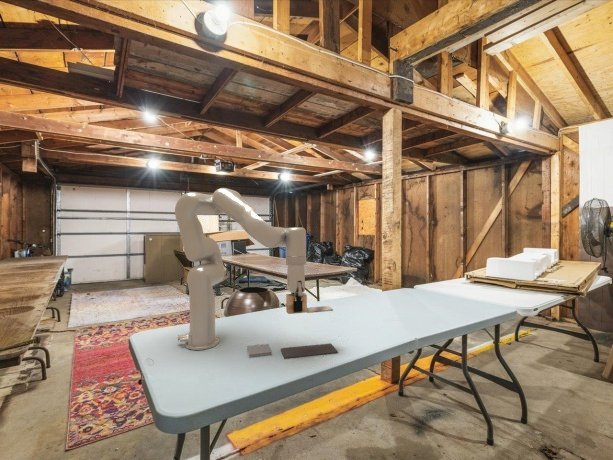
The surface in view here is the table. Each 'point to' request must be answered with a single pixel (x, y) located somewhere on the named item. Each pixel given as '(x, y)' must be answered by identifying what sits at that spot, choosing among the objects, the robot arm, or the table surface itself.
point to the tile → (259, 350)
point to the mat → (308, 351)
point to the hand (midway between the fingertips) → (296, 309)
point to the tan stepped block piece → (303, 305)
